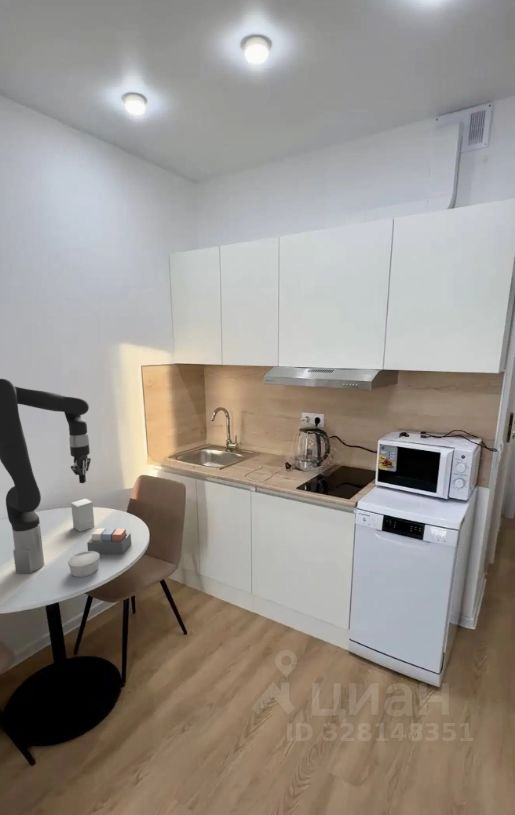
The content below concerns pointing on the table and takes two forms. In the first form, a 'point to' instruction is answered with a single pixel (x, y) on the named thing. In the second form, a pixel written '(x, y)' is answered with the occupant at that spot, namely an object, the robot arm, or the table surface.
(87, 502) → the supplement box
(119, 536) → the pink block
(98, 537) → the ivory key
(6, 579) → the table surface
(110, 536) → the slate blue key
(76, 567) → the ramekin
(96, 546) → the dark grey tray
